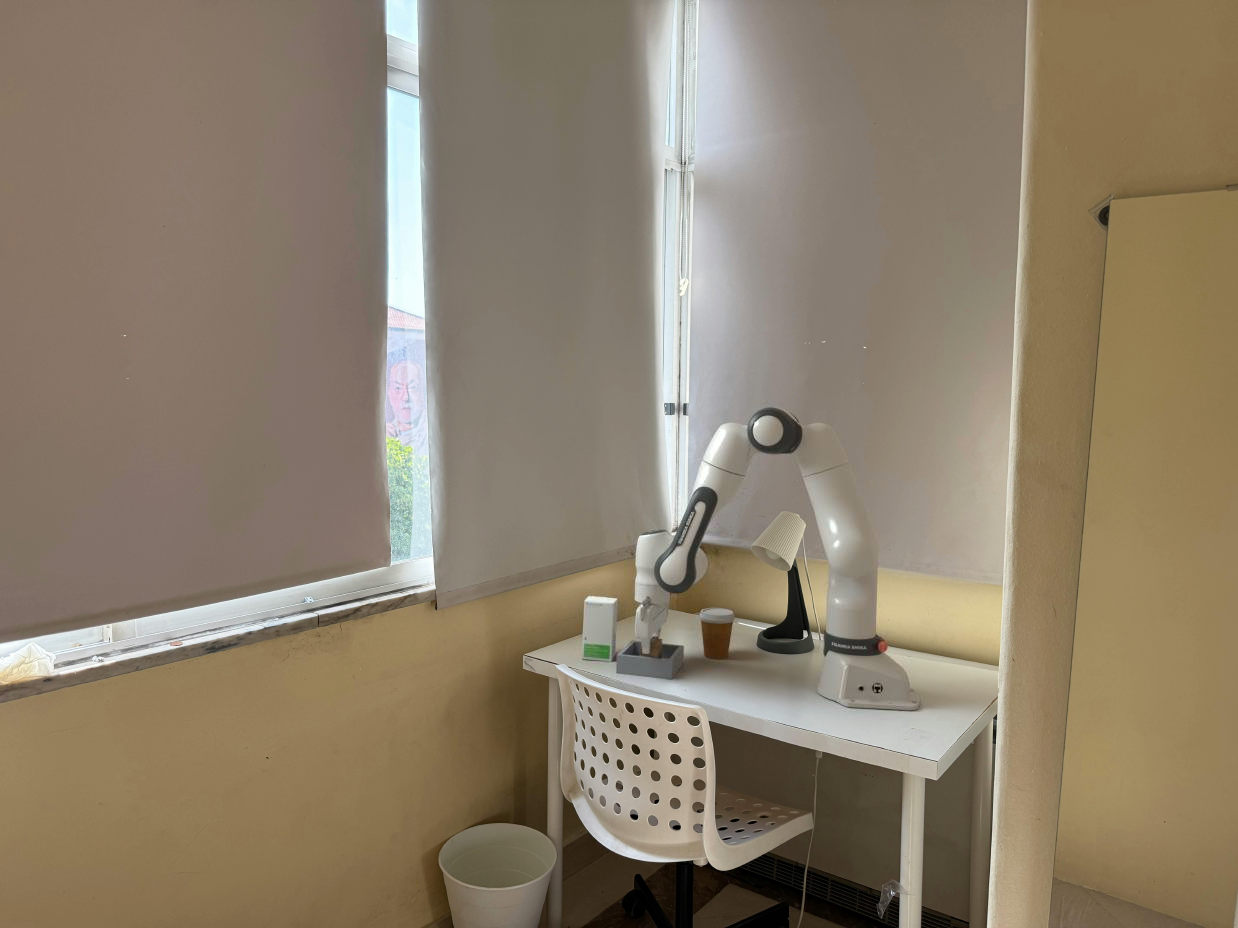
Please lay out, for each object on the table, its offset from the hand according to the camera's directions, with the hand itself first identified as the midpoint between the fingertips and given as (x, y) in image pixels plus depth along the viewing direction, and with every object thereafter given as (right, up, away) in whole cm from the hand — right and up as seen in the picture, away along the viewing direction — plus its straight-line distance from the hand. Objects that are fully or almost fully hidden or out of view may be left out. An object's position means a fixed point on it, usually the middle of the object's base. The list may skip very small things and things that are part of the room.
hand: (651, 647), depth 192 cm
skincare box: (-13, -5, +8) cm, 16 cm away
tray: (0, -5, 0) cm, 5 cm away
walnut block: (0, -4, 0) cm, 4 cm away
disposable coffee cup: (+18, -5, +12) cm, 22 cm away
